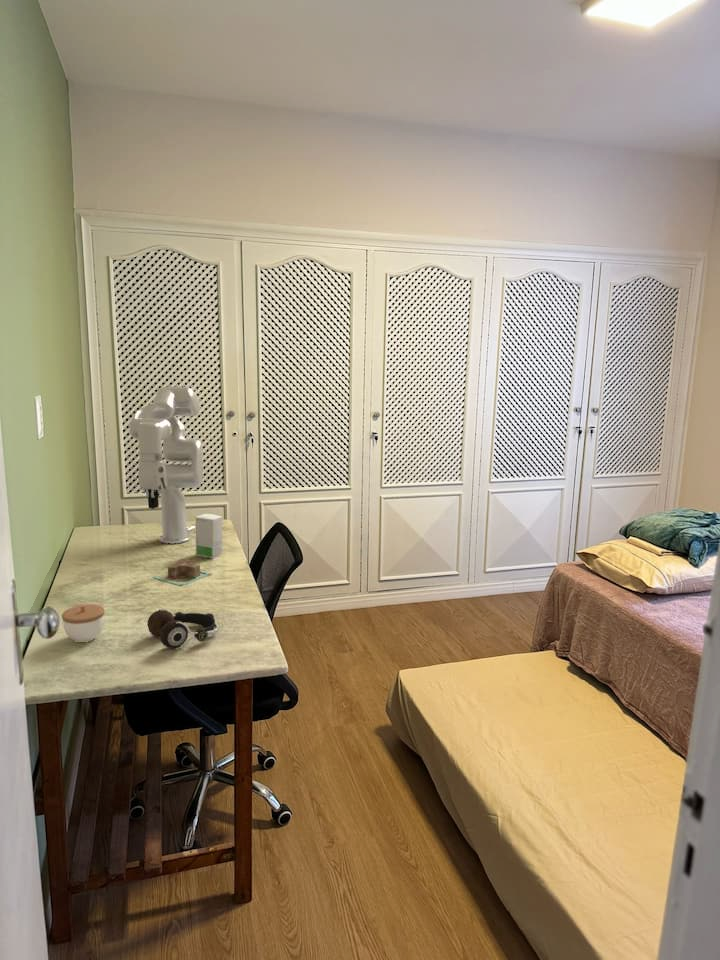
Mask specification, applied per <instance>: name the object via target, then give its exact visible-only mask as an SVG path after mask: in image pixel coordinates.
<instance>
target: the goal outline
mask: <svg viewBox="0 0 720 960" xmlns="http://www.w3.org/2000/svg"><path fill="white" fill-rule="evenodd" d="M200 572H201V573H200V574H203V575H200V576H199V577H197V578H192V579H191V580H188V581H186V582H184V583H179V582H175V581H173V580H168V579H165V578H162V577H158V576H153V579H157V580H160V581H162V582H166V583H170V584H173V585H176V586H179V587H183V586H186V585H187V584H190V582H191V583H193V582H196V581H198V580H201V579H203V578H205V576H206V577H209V576H211V575H210V574H211V573H210V572H205V571H202V570H200ZM204 573H205V574H204ZM208 575H209V576H208ZM202 577H203V578H202ZM200 578H201V579H200ZM197 579H198V580H197ZM195 580H196V581H195ZM192 581H193V582H192ZM185 584H186V585H185Z"/></svg>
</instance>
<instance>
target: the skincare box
mask: <svg viewBox="0 0 720 960" xmlns="http://www.w3.org/2000/svg"><path fill="white" fill-rule="evenodd" d="M220 554H221V555H222V554H223V516H222V515H217V514H212V513H211V514H210V513H203V514H200V515H197V516H195V556H196V555H197V556H196V557H201V556H203V557H202V558H207V557H210V558H209V559H212V558H214V557H215V558H217V557H219V556H221V555H220ZM218 555H219V556H218ZM216 556H217V557H216ZM215 558H214V559H215Z"/></svg>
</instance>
